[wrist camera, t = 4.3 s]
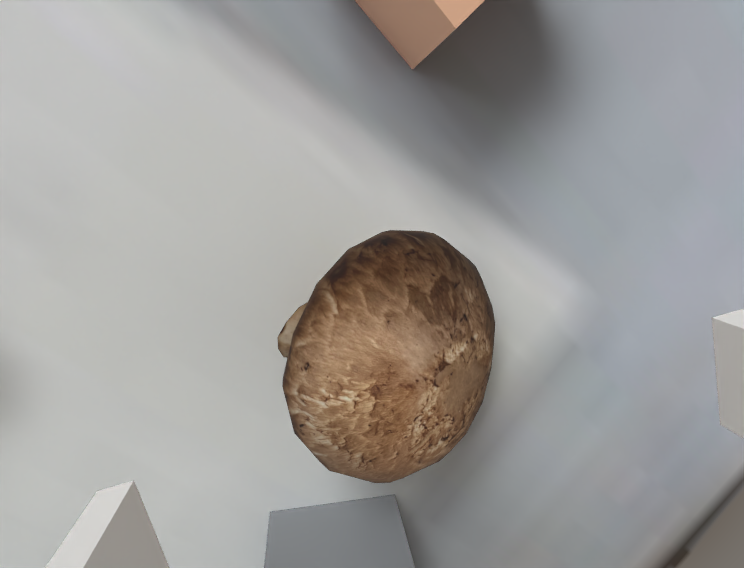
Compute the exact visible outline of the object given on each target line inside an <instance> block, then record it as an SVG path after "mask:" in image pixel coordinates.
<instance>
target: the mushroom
mask: <svg viewBox="0 0 744 568" xmlns="http://www.w3.org/2000/svg"><path fill="white" fill-rule="evenodd" d="M494 331H495V320H494V314H493V309H492V305H491V302H490V299H489V297H488V294H487V292H486V289H485V286H484V284H483V281H482V279H481V277H480V274H479V272H478V270H477V268H476V266H475V265H474V264H473V263H472V262H471V261H470V260H469V259H467V258H466V257H465V256H464V255H463V254H461V253H460V252H459V251H458V250H456V249H455V248H454V247H453V246H452V245H450V244H449V243H448V242H447V241H445V240H444V239H442V238H441V237H439V236H437V235H436V234H434V233H429V232H424V231H397V230H389V231H385V232H381V233H379V234H377V235H375V236H374V237H372V238H370V239H368V240H366V241H364V242H362V243H360V244H358V245H356V246H354V247H352V248H350V249H348V250H347V251H346V252H345V254H344V255H343V256H342V257H341V258H340V259H339V260H338V261H337V262H336V263H335V264H334V266H333V267H332V268H331V269H330V270H329V271H328V272H327V273H326V274H325V275H324V277H323V278H322V279H321V280H320V281H319V282H318V283H317V284H316V286H315V289H314V291H313V293H312V295H311V297H310V299H309V301H308V302H307V303H306V304H304V305H302V306H301V307H299V308H298V309H297V310H296V311H295V313H294V314H293V315H292V316H291V317H290V318H289V320H288V321H287V322H286V324H285V325H284V327H283V329H282V331H281V332H280V334H279V336H278V349H279V351H280V352H281V354H282V355H283V357H288V358H287V363H286V367H285V372H284V376H283V390H284V394H285V398H286V401H287V405H288V409H289V413H290V417H291V421H292V425H293V429H294V432H295V434H296V435H297V436H298V438H299V439H300V440H301V441H302V442H303V443H304V444H305V445H306V447H307V448H308V449H309V450H310V451H311V452H312V453H313V454H314V456H315V457H316V458H317V459H318V460H319V461H320V462H321V463H322V464H323V465H324V466H325V467H326V468H327V469H328V470H329V471H333V472H337V473H340V474H344V475H348V476H351V477H355V478H359V479H363V480H366V481H370V482H374V483H388V482H393V481H396V480H398V479H401V478H404V477H406V476H408V475H410V474H413V473H415V472H417V471H419V470H421V469H423V468H426V467H428V466H430V465H432V464H434V463H436V462H439V461H440V460H441V459H442V458H443V457H444V456H446V455H447V454H448V453H449V452H450V451H451V450H452V449H453V447H454V446H455V445H456V444H457V443H458V442H459V441H460V440H461V439H462V438H463V437H464V435H465V434H466V433H467V431H468V429H469V427H470V425H471V423H472V421H473V419H474V417H475V416H476V414H477V412H478V410H479V408H480V406H481V404H482V402H483V398H484V394H485V390H486V386H487V383H488V379H489V375H490V371H491V365H492V355H493V345H494Z"/></svg>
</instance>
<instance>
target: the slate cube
mask: <svg viewBox="0 0 744 568" xmlns="http://www.w3.org/2000/svg"><path fill="white" fill-rule="evenodd" d="M264 568H415V566H414V562H413V559H412V555H411V552H410V548H409V544H408V541H407V537H406V534H405V530H404V526H403V523H402V519H401V516H400V512H399V508H398V505H397V501H396V498H395V495H388V496H381V497H373V498H366V499H359V500H352V501H345V502H337V503H330V504H323V505H316V506H309V507H301V508H294V509H287V510H280V511H272V512H270V516H269V525H268V535H267V544H266V554H265V564H264Z"/></svg>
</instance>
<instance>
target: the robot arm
mask: <svg viewBox="0 0 744 568" xmlns="http://www.w3.org/2000/svg"><path fill="white" fill-rule="evenodd" d="M712 326H713V339H714V352H715V365H716V378H717V391H718V404H719V417H720V425H722V426H723V427H725V428H727V429H728V430H730V431H732V432H733V433H735V434H737V435H738V436H740V437H742V438H743V439H744V309H741V310H737V311H733V312H730V313H726V314H723V315H719V316H716V317H712ZM45 568H169V566H168V563H167V561H166V558H165V556H164V553H163V551H162V548H161V546H160V543H159V541H158V539H157V536H156V534H155V531H154V529H153V526H152V524H151V521H150V519H149V516H148V514H147V512H146V509H145V507H144V504H143V502H142V499H141V497H140V494H139V492H138V489H137V487H136V484H135V482H134V481H130V482H126V483H123V484H119V485H116V486H112V487H109V488H105V489H102V490H98V491H97V492H96V493H95V495H94V496H93V498H92V499H91V501H90V502H89V503H88V505H87V506H86V508H85V509H84V511H83V512H82V514H81V515H80V517H79V518H78V520H77V521H76V523H75V524H74V526H73V527H72V529H71V530H70V531H69V533H68V534H67V536H66V537H65V539H64V540H63V542H62V543H61V545H60V546H59V548H58V549H57V551H56V552H55V554H54V555H53V557H52V558H51V560H50V561H49V562H48V564H47V565H46V567H45Z"/></svg>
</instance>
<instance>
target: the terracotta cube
mask: <svg viewBox="0 0 744 568" xmlns="http://www.w3.org/2000/svg"><path fill="white" fill-rule="evenodd" d="M355 1H356V3H357V4H358V5H359V6H360V7H361V9H362V10H363V11H364V12H365V13H366V15H367V16H368V17H369V18H370V19H371V21H372V22H373V23H374V24H375V25H376V27H377V28H378V29H379V30H380V31H381V33H382V34H383V35H384V36H385V37H386V39H387V40H388V41H389V42H390V43H391V45H392V46H393V47H394V48H395V49H396V51H397V52H398V53H399V54H400V55H401V57H402V58H403V59H404V60H405V61H406V63H407V64H408V65H409V66H410V67H411V69H412V70H413V69H414V68H415V67H416V66H417V65H418V64H419V63H420V62H421V61H422V60H423V59H424V58H425V57H427V56H428V55H429V54H430V53H431V52H432V51H433V50H434V49H435V48H436V47H437V46H438V45H439V44H440V43H441V42H442V41H444V40H445V39H446V38H447V37H448V36H449V35H450V34H451V33H452V32H453V31H454V30H455V29H456V28H457V27H458V26H459V25H460V24H461V23H462V22H463V21H464V20H465V19H466V18H467V17H468V16H469V15H470V14H471V13H472V12H473V11H474V10H475V9H476V8H477V7H478V6H479V5H480V4H481V3H482V2H483V1H484V0H355Z"/></svg>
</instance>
